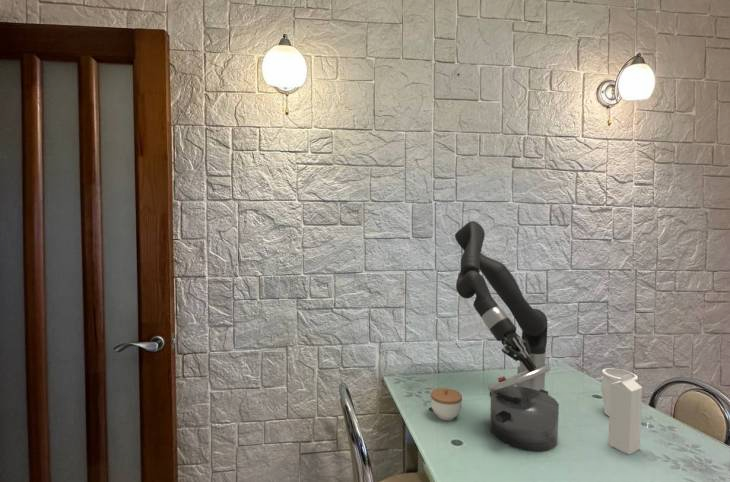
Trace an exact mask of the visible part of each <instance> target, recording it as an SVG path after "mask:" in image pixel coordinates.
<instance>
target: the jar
mask: <svg viewBox="0 0 730 482" xmlns="http://www.w3.org/2000/svg"><path fill="white" fill-rule="evenodd" d="M601 373H602V375H603V377H602V381H601V393H602V394H601V395H602V402H603V405H604V407H605V408H604V410H603V412H604V414H605V415H607V416H608V417H609V409H610V384H612V383H615V382H618V381H620V380H621V377H623V376H626V375H628V374H632V379H633V380H634V381H635V382H637V381H638V379H639V378H638V375H636V374H635V373H633V372H631V371H629V370H628V371H627V370H625V369H621V368H613V367H611V368H610V367H608V368H607V367H606V368H604V369H602V371H601Z"/></svg>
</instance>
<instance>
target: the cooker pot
mask: <svg viewBox="0 0 730 482" xmlns="http://www.w3.org/2000/svg"><path fill="white" fill-rule="evenodd" d="M489 397H490V407H489V409H490V410H489V411H490V413H489V414H490V415H489V430H490V432H491V434H492V435H493V437H494V438H495V439H497V440H498V441H500V442H501V443H502V444H504V445H506V446H509V447H512V448H515V449H518V450H522V451H527V452H537V453H538V452H547V451H550V450H552V449H554V448H555V447H556V446H557V444H558V442H559V441H558V440H559V415H560V414H559V413H560V412H559V411H560V410H559V409H560V406H559V403H558V401H557V400H556V399H555V398H554V397H552V396H551V395H549V391H547V390H545V389H544V390H542V389H541V390H539V391H538V390H534V389H530V388H526V387H518V386H517V385H514V386H511V387H508V388H505V389H502V390H498V391H495V392H490V391H489Z"/></svg>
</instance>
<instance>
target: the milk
mask: <svg viewBox="0 0 730 482" xmlns="http://www.w3.org/2000/svg"><path fill="white" fill-rule="evenodd" d="M642 399H643V387H642V385H640V384H639V383H638V382H637V381H636V382H635V381H634V380H633V379H632V374H628V375H626V376H623V377H621V380H620V381H618V382H615V383H612V384H610V409H609V416H608V438H607V439H608V440H607V441H608V442H607V445H608V446H610V447H612V448H615V449H616V450H619V451H621V452H623V453H625V454H627V455H632V454H633V453H635V452H637V451H638V450H640V449H641V426H642V421H641V420H642V401H643V400H642Z"/></svg>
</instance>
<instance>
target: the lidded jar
mask: <svg viewBox="0 0 730 482" xmlns="http://www.w3.org/2000/svg"><path fill="white" fill-rule="evenodd" d="M430 403H431V408H432V410H433V413H434V414H435V415H436V417H438V419H440V420H443V421H452V420H454V419H455V418H456V417H457V416H458V415H459V413H460V411H461V409H462V403H463V395H462V393H461V392H460V391H458V390H456V389H453V388H449V387H437V388H434V389H432V390H431V391H430Z"/></svg>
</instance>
